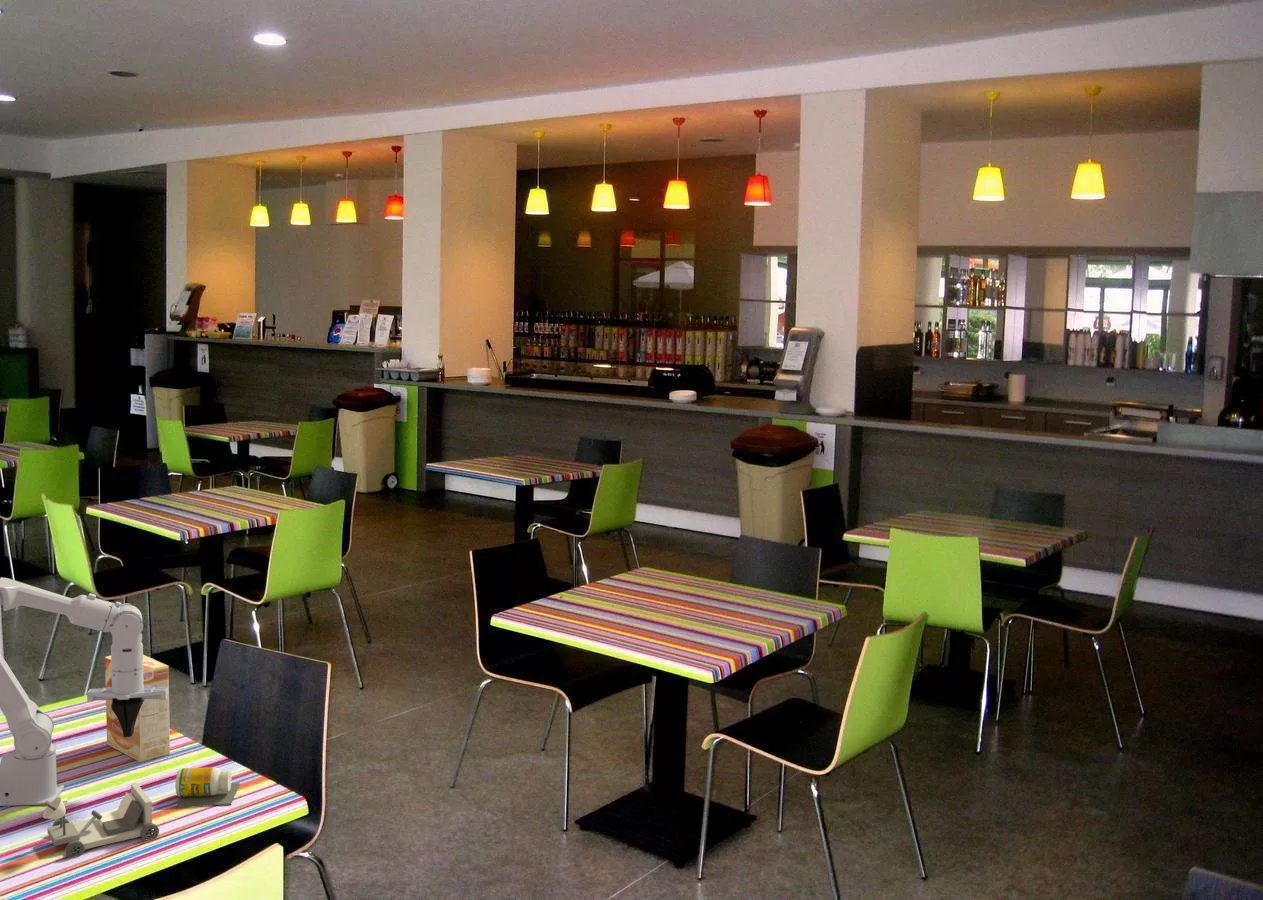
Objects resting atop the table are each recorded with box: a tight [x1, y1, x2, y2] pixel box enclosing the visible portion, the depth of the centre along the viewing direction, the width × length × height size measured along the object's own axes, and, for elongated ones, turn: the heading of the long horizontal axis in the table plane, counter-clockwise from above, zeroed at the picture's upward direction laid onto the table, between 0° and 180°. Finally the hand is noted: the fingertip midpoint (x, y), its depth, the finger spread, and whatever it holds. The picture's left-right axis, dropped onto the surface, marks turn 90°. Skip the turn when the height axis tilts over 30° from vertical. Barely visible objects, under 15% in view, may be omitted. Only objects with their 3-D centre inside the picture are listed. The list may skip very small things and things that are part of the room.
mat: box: [175, 782, 241, 808], centre depth 230 cm, size 10×10×1 cm
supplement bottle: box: [174, 766, 232, 798], centre depth 229 cm, size 5×5×10 cm
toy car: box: [42, 782, 160, 859], centre depth 210 cm, size 18×10×12 cm
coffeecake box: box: [104, 654, 171, 763], centre depth 251 cm, size 15×7×20 cm, turn 49°
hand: (128, 735), depth 232 cm, fingers closed
